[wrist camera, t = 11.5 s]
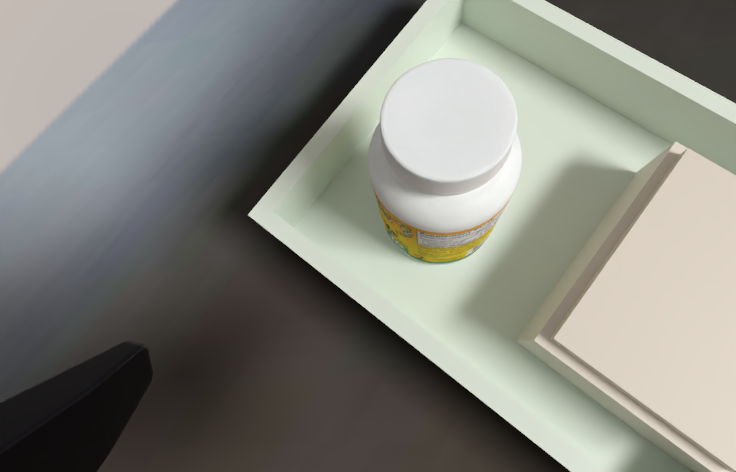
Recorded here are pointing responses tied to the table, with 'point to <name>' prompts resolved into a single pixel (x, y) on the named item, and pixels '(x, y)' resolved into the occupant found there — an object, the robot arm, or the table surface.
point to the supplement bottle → (444, 159)
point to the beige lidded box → (655, 311)
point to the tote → (521, 215)
